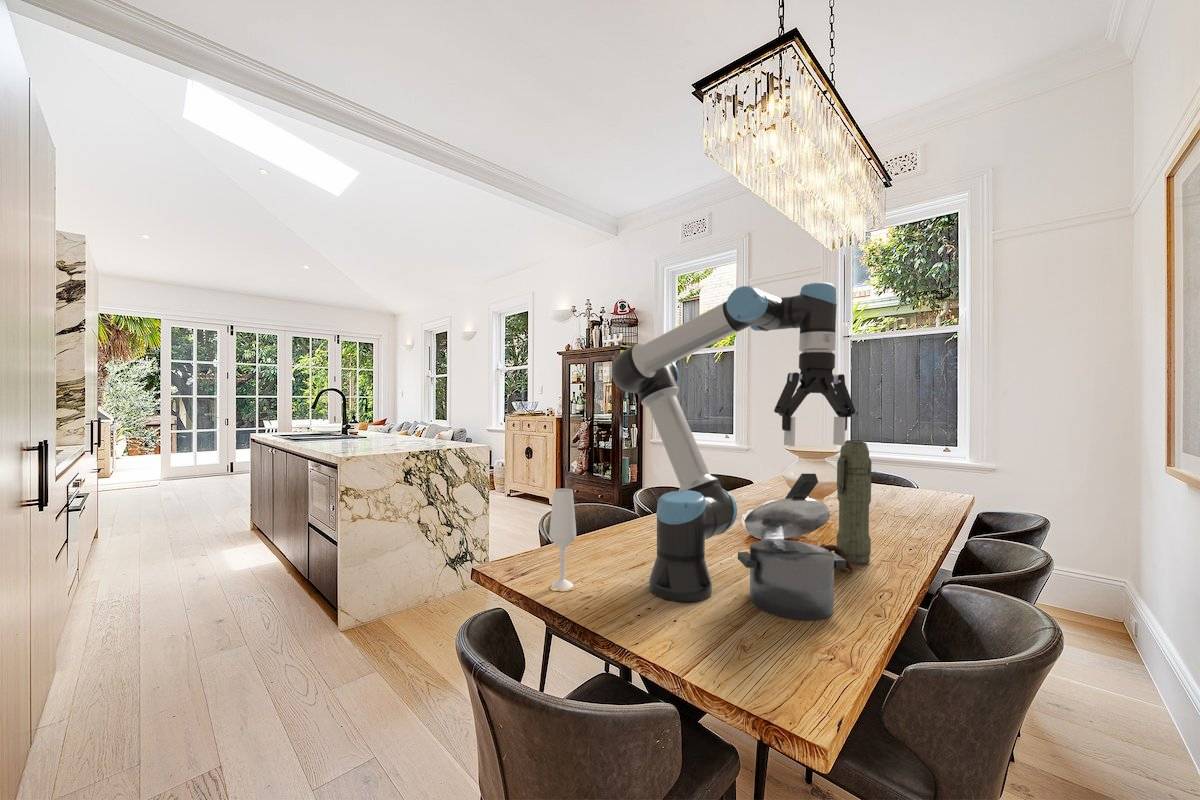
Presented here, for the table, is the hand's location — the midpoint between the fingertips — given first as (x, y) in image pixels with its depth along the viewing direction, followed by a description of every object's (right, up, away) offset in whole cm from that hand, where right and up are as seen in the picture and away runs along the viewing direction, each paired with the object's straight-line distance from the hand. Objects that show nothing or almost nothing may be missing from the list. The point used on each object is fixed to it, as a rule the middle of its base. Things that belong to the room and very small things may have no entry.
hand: (814, 445), depth 110 cm
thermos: (+26, -37, +32) cm, 55 cm away
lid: (-5, -16, 0) cm, 17 cm away
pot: (-5, -37, +2) cm, 37 cm away
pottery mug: (+15, -37, +22) cm, 46 cm away
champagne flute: (-59, -36, +9) cm, 69 cm away
